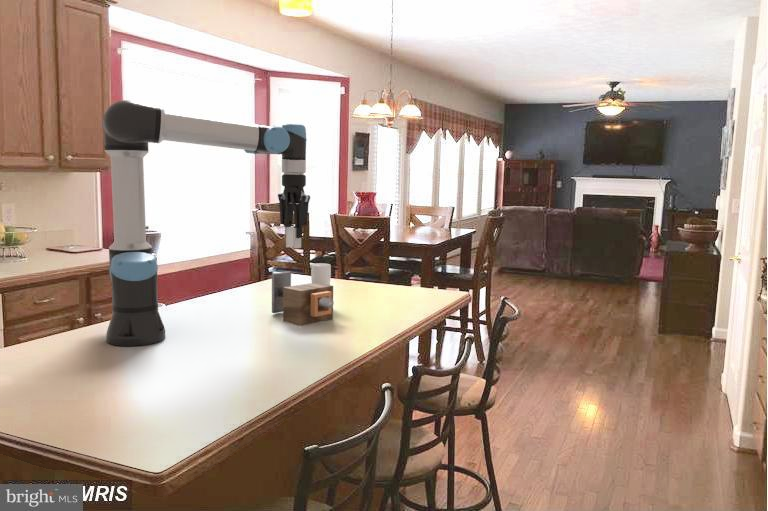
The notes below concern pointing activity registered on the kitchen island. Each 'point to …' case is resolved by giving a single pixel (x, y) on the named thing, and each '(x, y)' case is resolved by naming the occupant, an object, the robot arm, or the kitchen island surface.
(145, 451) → the kitchen island surface
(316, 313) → the orange square frame
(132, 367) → the kitchen island surface
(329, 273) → the drinking glass
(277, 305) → the shaft
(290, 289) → the bearing block
